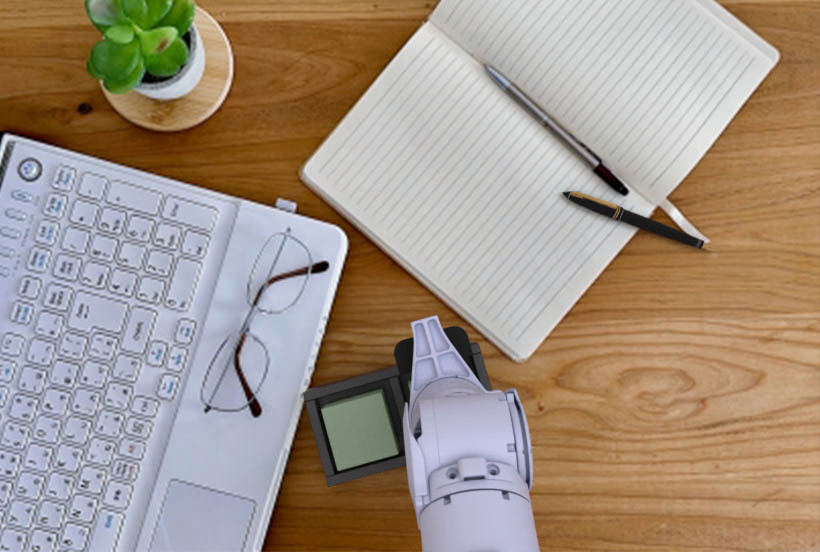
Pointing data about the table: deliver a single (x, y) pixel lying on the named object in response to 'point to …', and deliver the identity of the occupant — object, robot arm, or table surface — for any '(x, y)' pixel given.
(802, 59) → the table surface
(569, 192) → the fountain pen
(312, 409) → the two-compartment tray
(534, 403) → the table surface
